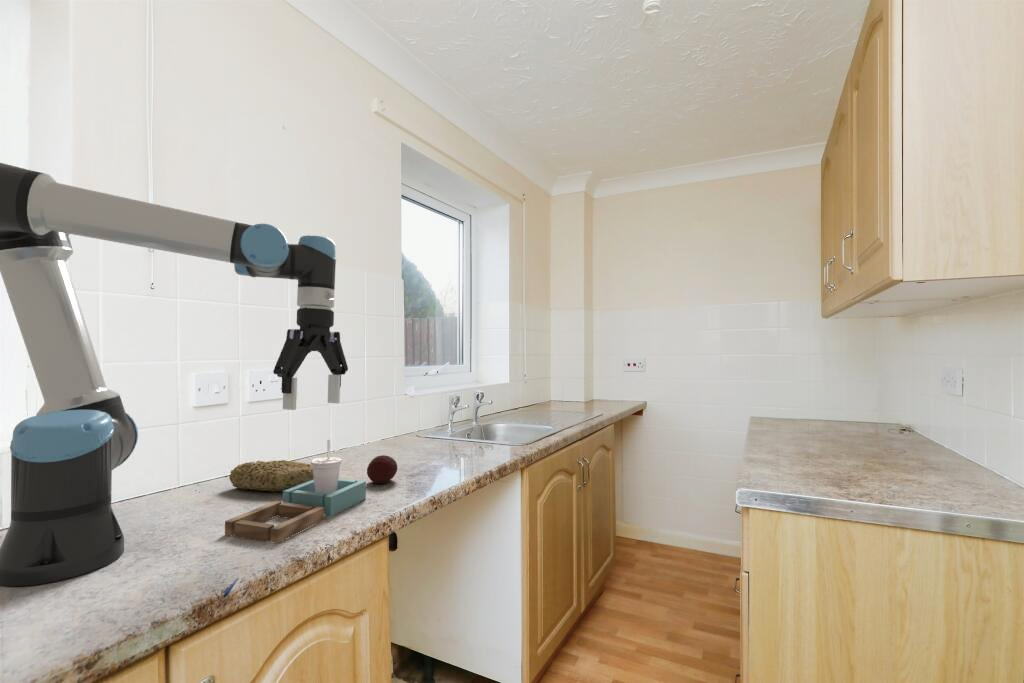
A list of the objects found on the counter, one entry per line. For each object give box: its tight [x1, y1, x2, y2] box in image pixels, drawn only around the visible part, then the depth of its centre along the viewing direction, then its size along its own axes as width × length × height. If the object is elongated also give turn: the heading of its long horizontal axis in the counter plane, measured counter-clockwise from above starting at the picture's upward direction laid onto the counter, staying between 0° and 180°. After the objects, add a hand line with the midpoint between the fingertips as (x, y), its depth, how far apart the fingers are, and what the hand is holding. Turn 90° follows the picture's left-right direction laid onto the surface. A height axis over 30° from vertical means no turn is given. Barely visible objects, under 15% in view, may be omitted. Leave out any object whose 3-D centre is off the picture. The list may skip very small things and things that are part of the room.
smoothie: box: [310, 439, 342, 495], centre depth 106 cm, size 6×6×14 cm
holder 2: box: [282, 477, 367, 517], centre depth 106 cm, size 12×12×4 cm
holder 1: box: [224, 500, 325, 544], centre depth 92 cm, size 12×12×2 cm
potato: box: [366, 454, 398, 485], centre depth 123 cm, size 7×8×7 cm
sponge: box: [229, 459, 314, 492], centre depth 117 cm, size 13×8×20 cm
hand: (312, 406), depth 105 cm, fingers open, 13 cm apart
